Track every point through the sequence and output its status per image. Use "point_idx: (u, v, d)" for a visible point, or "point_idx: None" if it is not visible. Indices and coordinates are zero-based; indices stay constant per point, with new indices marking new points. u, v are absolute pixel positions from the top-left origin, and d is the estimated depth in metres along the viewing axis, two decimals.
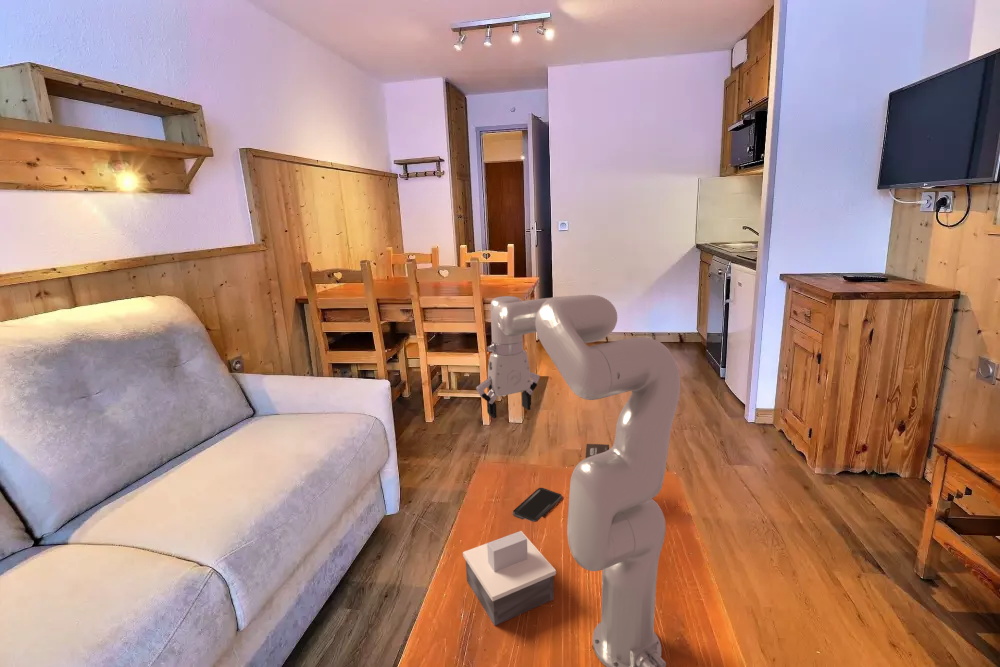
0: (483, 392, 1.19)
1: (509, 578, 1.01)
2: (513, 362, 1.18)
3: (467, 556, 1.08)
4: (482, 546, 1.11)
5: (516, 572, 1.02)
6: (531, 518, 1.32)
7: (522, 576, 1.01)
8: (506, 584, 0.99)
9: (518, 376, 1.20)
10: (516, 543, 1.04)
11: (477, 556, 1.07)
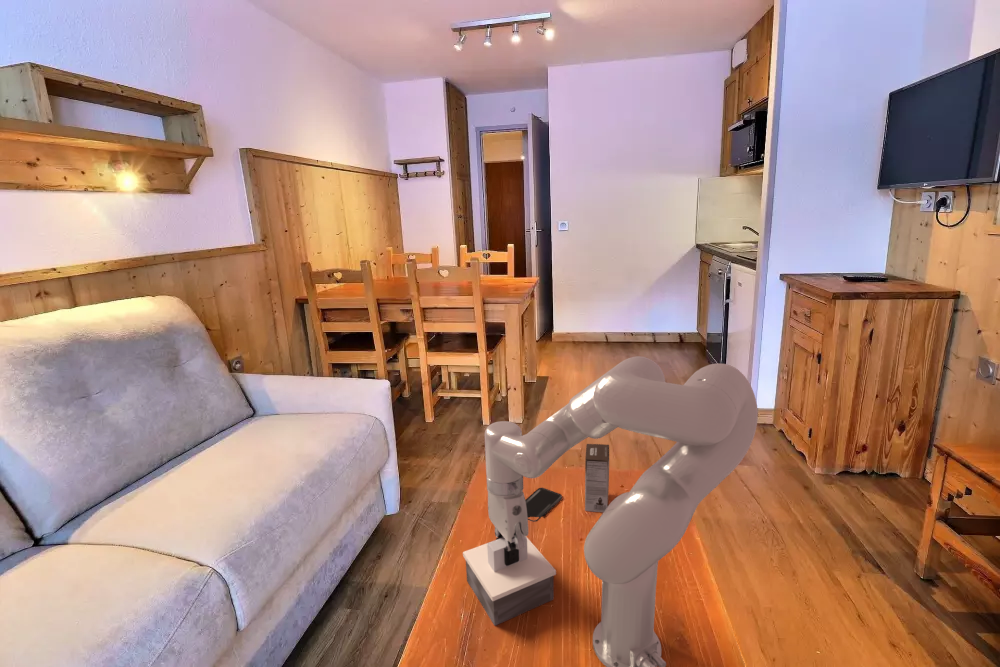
0: None
1: (509, 578, 1.01)
2: None
3: (467, 556, 1.08)
4: (482, 546, 1.11)
5: (516, 572, 1.02)
6: None
7: (522, 576, 1.01)
8: (506, 584, 0.99)
9: None
10: None
11: (477, 556, 1.07)
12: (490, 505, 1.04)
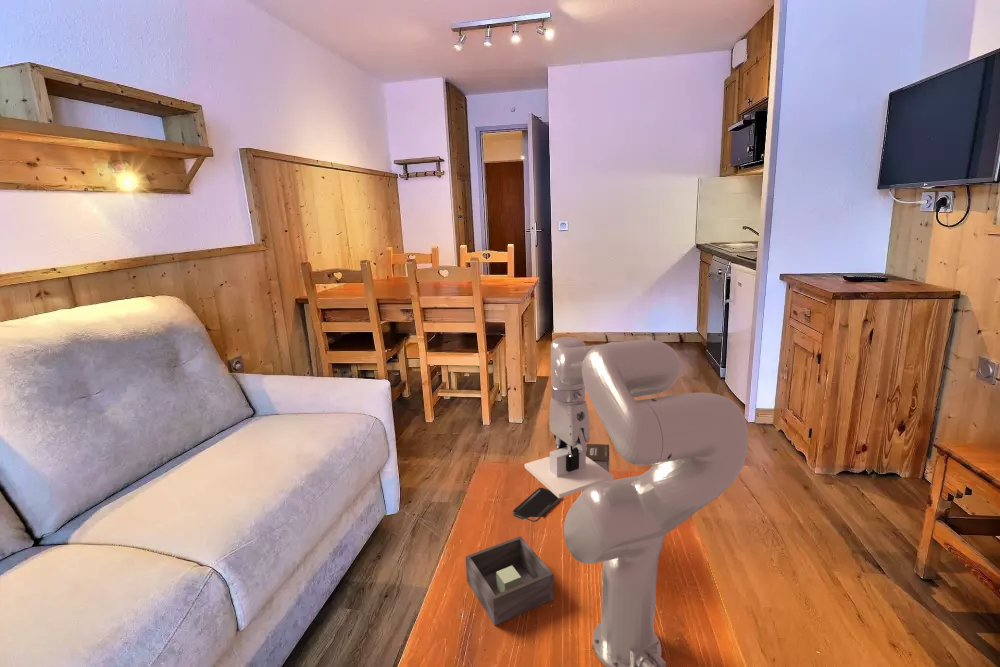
0: None
1: (571, 481, 1.10)
2: None
3: (529, 466, 1.17)
4: (541, 459, 1.20)
5: (577, 477, 1.11)
6: None
7: (583, 480, 1.10)
8: (570, 485, 1.08)
9: None
10: None
11: (538, 466, 1.16)
12: (552, 416, 1.13)
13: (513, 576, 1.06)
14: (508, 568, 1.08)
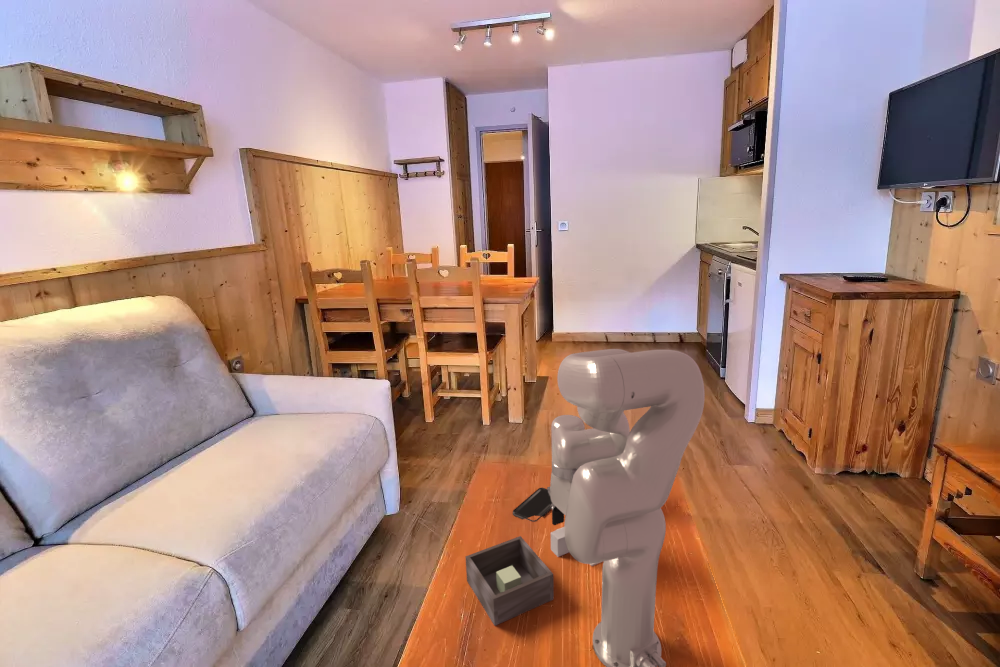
0: None
1: None
2: None
3: None
4: None
5: None
6: None
7: None
8: None
9: None
10: None
11: None
12: (553, 489, 1.17)
13: (513, 576, 1.06)
14: (508, 568, 1.08)
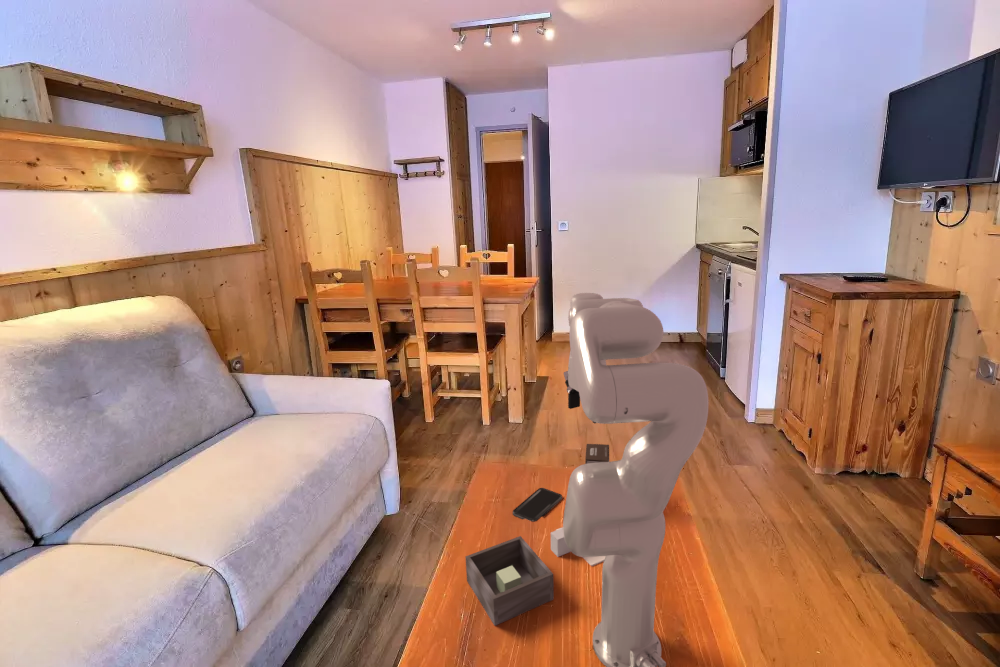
0: None
1: None
2: None
3: None
4: None
5: None
6: (530, 518, 1.32)
7: None
8: None
9: None
10: None
11: None
12: (571, 370, 1.17)
13: (513, 576, 1.06)
14: (508, 568, 1.08)
